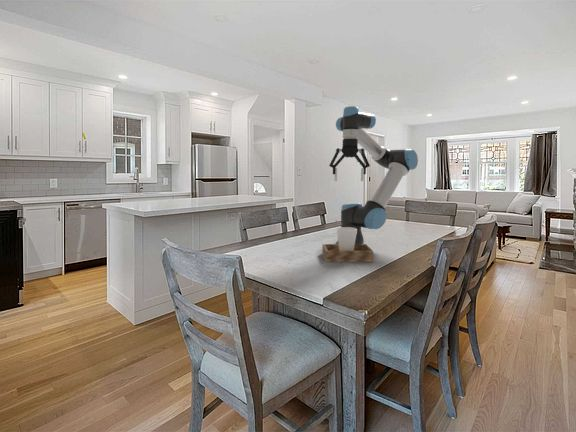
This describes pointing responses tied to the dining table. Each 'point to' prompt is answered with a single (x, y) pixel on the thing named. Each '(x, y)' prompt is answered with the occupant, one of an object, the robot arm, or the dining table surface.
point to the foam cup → (346, 238)
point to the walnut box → (347, 253)
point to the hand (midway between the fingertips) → (348, 181)
